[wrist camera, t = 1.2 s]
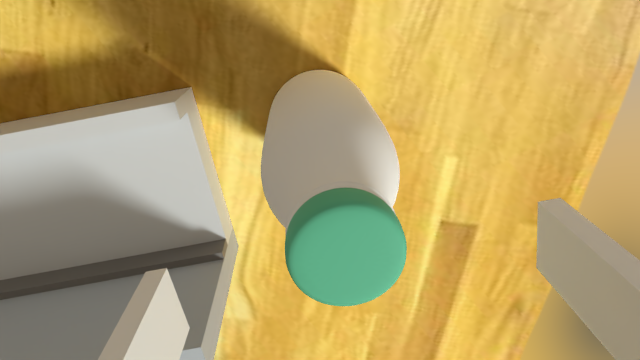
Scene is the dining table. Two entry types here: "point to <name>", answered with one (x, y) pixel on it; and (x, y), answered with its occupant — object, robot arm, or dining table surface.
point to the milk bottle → (333, 189)
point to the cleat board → (109, 225)
